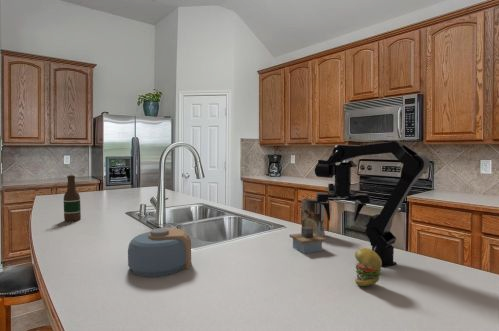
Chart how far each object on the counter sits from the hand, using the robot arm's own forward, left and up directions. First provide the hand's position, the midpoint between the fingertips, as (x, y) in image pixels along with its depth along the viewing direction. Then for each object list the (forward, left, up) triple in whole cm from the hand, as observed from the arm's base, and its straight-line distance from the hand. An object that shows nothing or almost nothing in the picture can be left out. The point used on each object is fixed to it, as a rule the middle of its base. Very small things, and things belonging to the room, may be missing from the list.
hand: (341, 220), depth 119 cm
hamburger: (-26, +12, -12) cm, 31 cm away
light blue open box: (+8, +9, -12) cm, 17 cm away
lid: (+8, +9, -8) cm, 15 cm away
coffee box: (+24, -4, -12) cm, 27 cm away
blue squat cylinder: (+13, +64, -12) cm, 66 cm away
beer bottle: (+98, +98, -12) cm, 139 cm away
